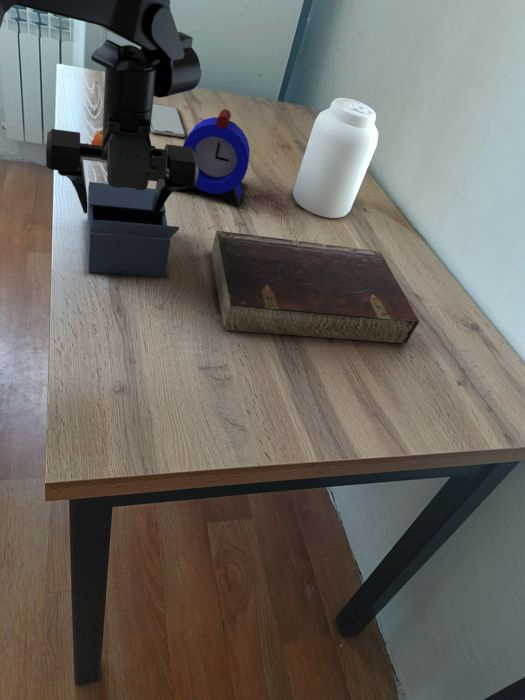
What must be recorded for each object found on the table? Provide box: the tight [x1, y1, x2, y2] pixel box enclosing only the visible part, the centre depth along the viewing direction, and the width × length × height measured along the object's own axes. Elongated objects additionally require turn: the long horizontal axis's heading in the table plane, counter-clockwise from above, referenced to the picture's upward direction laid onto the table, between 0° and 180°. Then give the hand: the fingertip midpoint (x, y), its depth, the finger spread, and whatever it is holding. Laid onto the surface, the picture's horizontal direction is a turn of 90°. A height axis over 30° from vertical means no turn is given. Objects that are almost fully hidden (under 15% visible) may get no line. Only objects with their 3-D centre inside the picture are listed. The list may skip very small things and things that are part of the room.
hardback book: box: [210, 230, 420, 344], centre depth 84 cm, size 29×19×5 cm, turn 99°
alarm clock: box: [174, 108, 251, 207], centre depth 100 cm, size 12×12×15 cm
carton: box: [86, 181, 171, 277], centre depth 81 cm, size 13×11×7 cm
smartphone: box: [150, 102, 186, 138], centre depth 120 cm, size 7×1×15 cm
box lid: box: [90, 219, 180, 239], centre depth 71 cm, size 6×11×1 cm
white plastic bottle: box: [292, 97, 379, 219], centre depth 104 cm, size 12×12×20 cm
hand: (120, 214), depth 75 cm, fingers open, 9 cm apart
